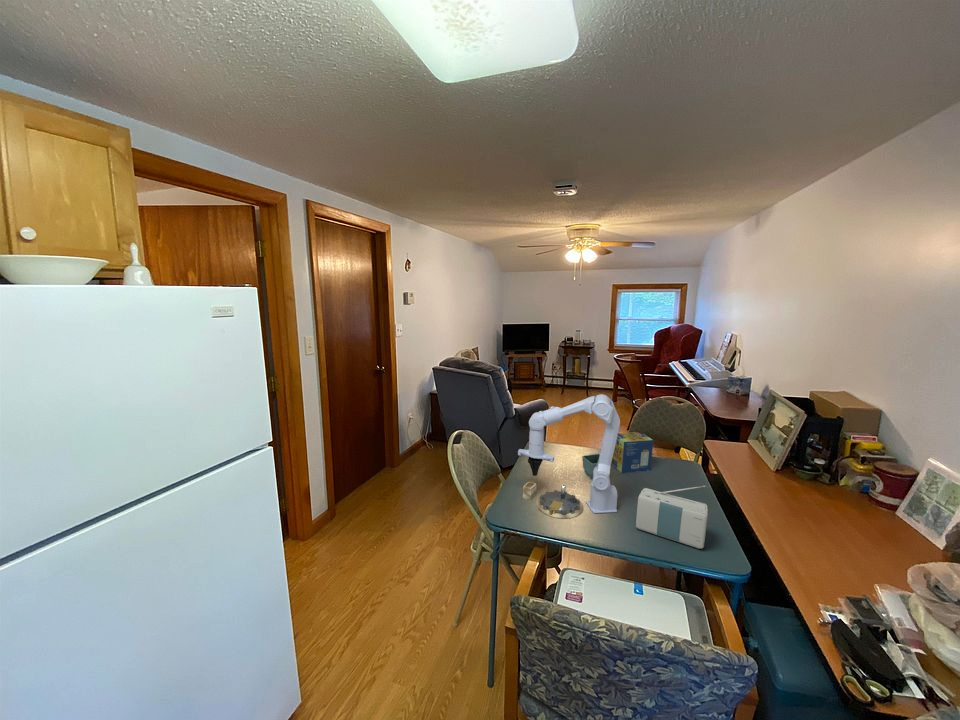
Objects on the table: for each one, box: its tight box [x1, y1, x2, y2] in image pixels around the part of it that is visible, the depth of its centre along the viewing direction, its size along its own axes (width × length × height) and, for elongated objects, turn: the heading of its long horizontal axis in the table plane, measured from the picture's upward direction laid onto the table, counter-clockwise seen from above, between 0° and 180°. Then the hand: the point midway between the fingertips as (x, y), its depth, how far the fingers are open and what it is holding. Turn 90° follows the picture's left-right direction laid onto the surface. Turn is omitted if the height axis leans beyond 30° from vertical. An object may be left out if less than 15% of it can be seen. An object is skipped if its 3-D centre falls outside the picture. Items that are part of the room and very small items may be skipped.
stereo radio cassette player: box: [635, 485, 709, 549], centre depth 133 cm, size 21×8×20 cm, turn 56°
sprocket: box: [539, 484, 581, 515], centre depth 152 cm, size 15×15×6 cm
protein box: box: [611, 431, 654, 474], centre depth 184 cm, size 10×15×16 cm
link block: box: [522, 481, 537, 501], centre depth 159 cm, size 4×5×5 cm
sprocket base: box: [535, 493, 584, 520], centre depth 152 cm, size 18×18×3 cm
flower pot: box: [581, 453, 600, 480], centre depth 175 cm, size 9×9×9 cm
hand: (535, 474), depth 157 cm, fingers closed
